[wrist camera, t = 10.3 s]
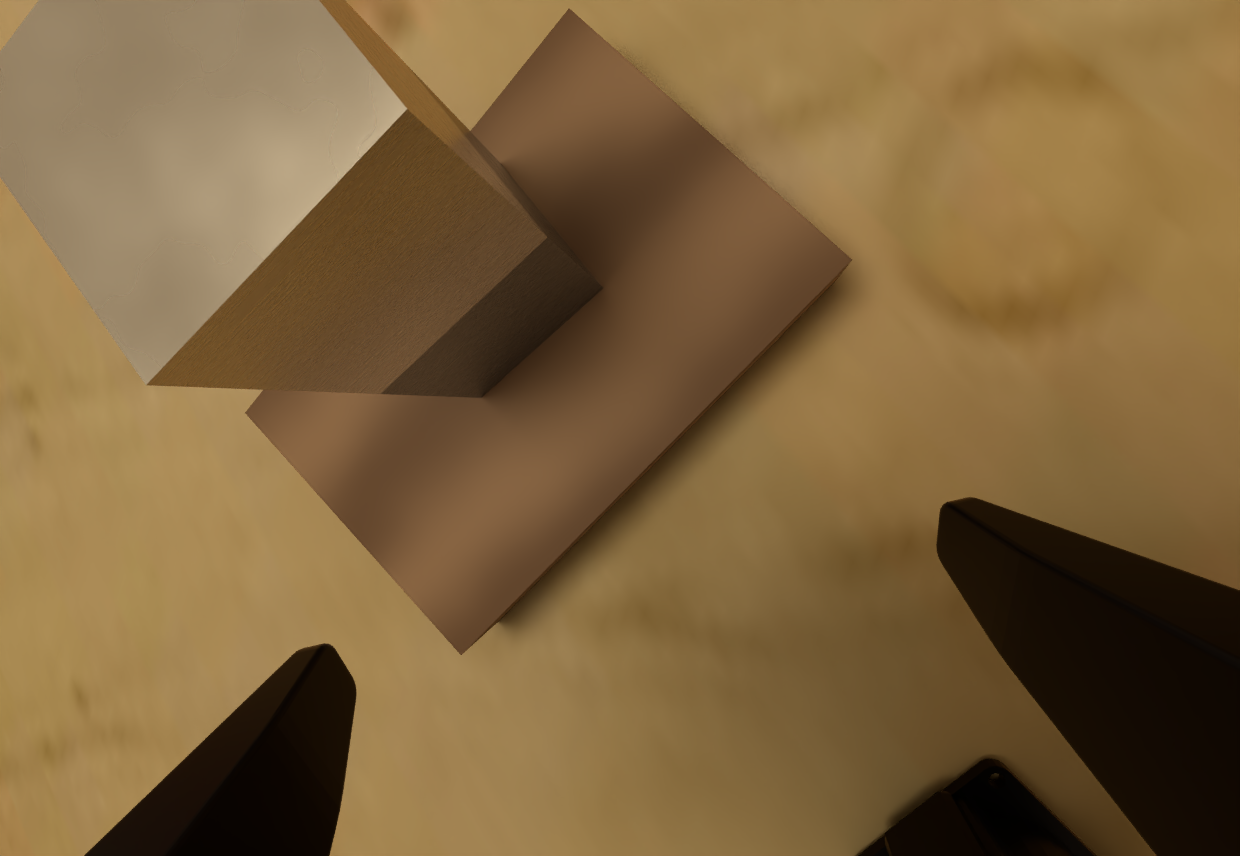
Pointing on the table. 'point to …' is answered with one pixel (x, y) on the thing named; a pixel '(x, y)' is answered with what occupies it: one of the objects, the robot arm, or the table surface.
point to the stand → (568, 343)
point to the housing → (274, 200)
